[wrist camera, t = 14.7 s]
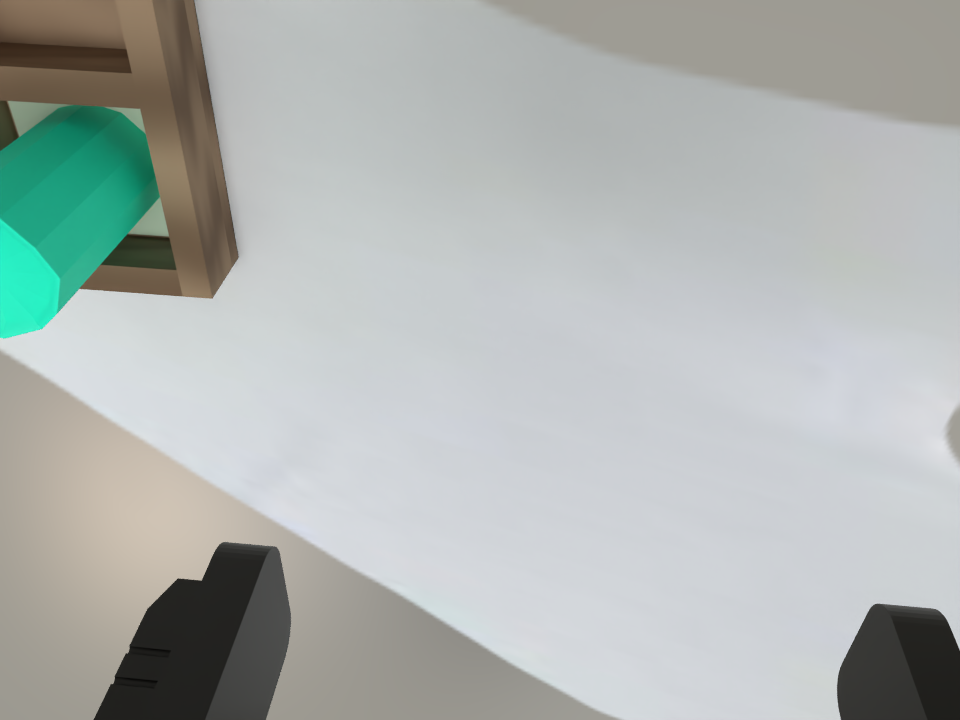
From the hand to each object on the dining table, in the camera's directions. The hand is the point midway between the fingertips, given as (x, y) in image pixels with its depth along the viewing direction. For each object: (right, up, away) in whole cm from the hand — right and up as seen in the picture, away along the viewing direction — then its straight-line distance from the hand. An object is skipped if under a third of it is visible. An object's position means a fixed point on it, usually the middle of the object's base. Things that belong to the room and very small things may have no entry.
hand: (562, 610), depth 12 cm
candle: (-19, +13, +29) cm, 37 cm away
